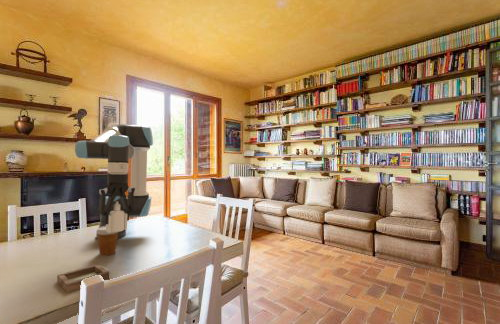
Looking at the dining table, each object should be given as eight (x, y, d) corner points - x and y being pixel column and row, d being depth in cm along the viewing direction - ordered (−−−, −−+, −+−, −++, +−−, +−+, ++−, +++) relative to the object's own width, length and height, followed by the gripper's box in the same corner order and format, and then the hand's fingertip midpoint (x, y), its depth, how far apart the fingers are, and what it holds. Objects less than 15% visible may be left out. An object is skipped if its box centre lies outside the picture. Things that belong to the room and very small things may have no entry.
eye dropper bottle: (111, 229, 104) (112, 200, 104) (125, 229, 104) (126, 200, 104) (106, 232, 99) (107, 202, 99) (121, 232, 100) (122, 202, 100)
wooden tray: (57, 282, 89) (57, 275, 89) (97, 270, 99) (97, 264, 99) (67, 292, 82) (67, 285, 82) (109, 278, 92) (109, 272, 92)
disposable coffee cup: (94, 258, 111) (95, 231, 111) (96, 251, 120) (97, 226, 120) (118, 255, 116) (119, 229, 116) (119, 248, 124) (119, 224, 124)
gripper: (97, 174, 92) (95, 237, 92) (144, 173, 107) (143, 227, 107) (88, 173, 97) (86, 233, 96) (135, 172, 112) (134, 224, 111)
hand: (116, 230), depth 102 cm, fingers closed on eye dropper bottle, 6 cm apart
